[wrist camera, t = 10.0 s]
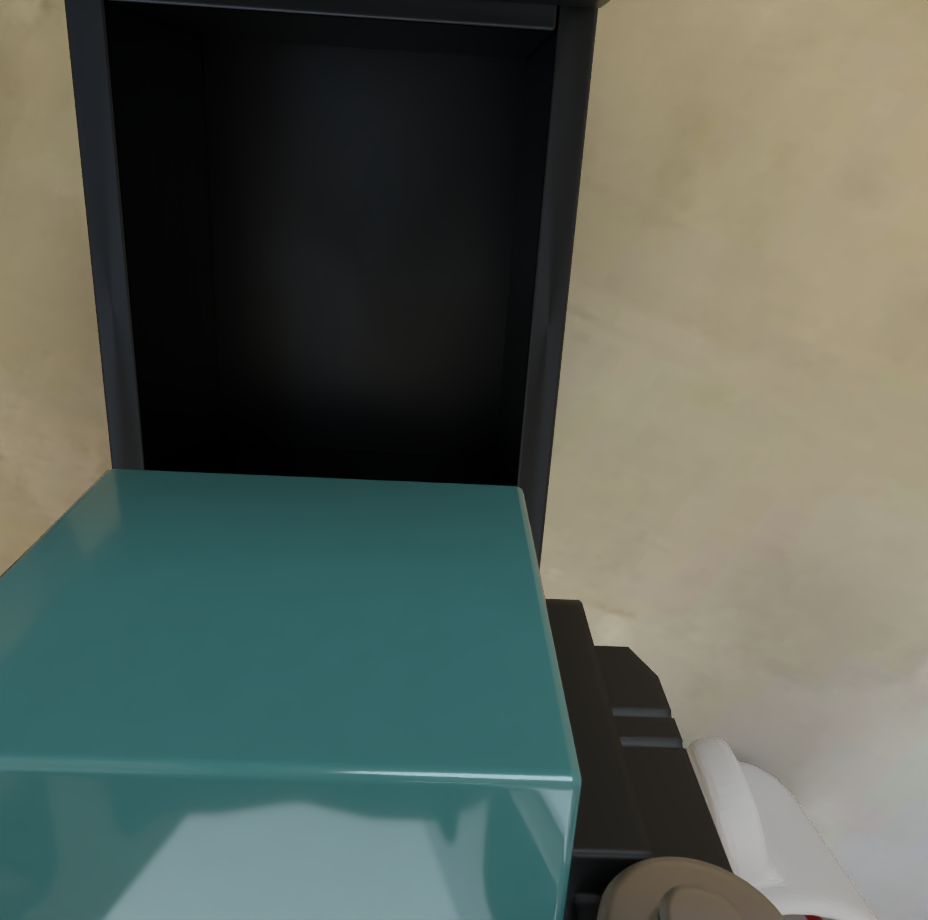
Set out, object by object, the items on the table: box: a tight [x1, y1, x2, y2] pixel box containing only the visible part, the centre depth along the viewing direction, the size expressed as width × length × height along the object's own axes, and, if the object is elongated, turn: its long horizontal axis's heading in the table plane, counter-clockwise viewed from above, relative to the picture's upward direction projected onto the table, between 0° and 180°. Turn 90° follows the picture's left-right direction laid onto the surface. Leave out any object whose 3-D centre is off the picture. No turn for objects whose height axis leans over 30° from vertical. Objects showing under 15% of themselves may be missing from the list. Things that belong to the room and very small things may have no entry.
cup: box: [688, 737, 878, 920], centre depth 30 cm, size 11×8×8 cm
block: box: [0, 469, 583, 920], centre depth 8 cm, size 4×4×4 cm
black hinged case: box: [65, 0, 598, 571], centre depth 23 cm, size 14×11×8 cm
